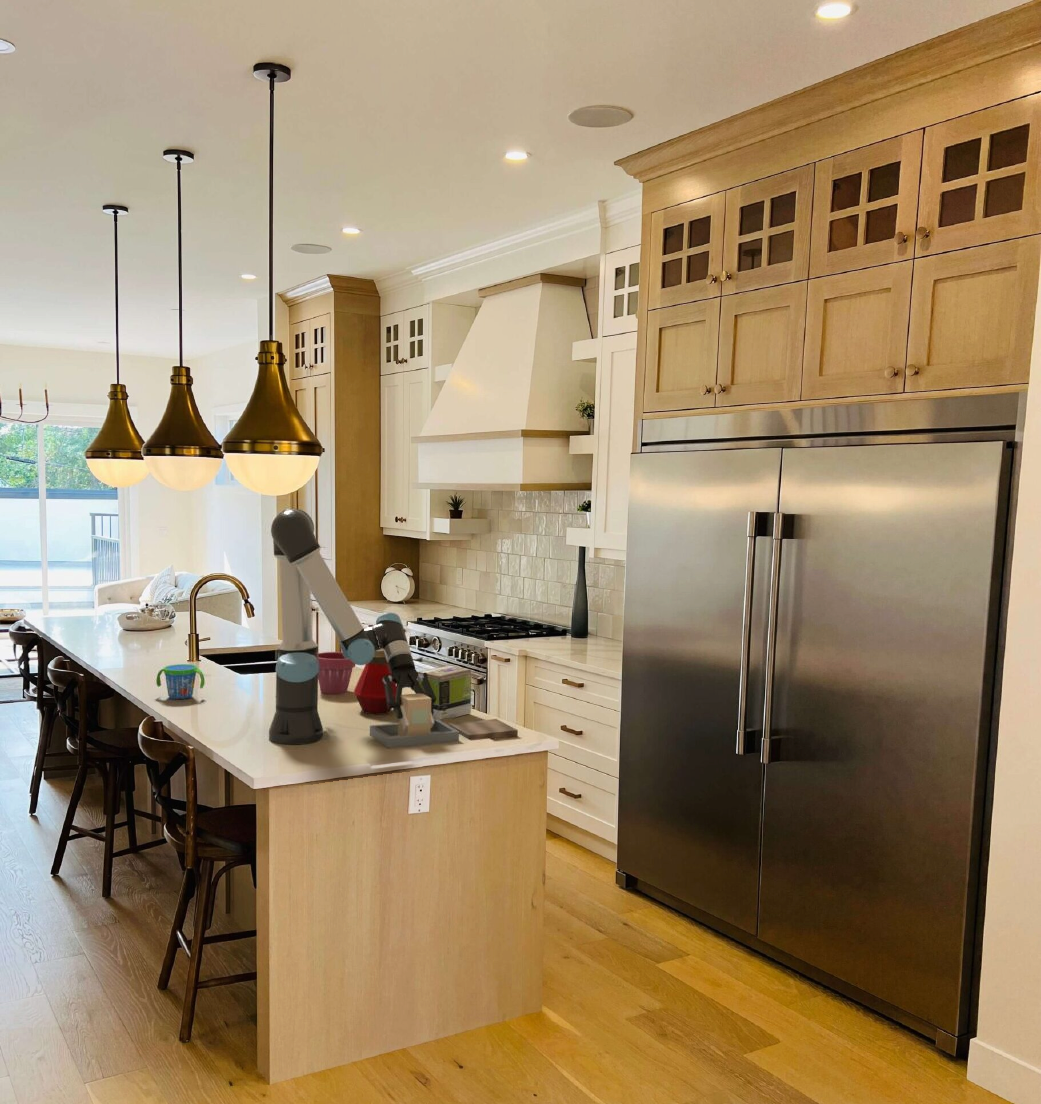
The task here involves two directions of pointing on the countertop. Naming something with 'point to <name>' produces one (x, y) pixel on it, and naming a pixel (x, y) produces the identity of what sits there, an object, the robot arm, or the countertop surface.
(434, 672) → the tea box
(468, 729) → the walnut board
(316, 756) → the countertop surface
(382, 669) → the bottle
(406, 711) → the box
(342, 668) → the plant pot
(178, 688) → the snack cup
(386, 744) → the bin
